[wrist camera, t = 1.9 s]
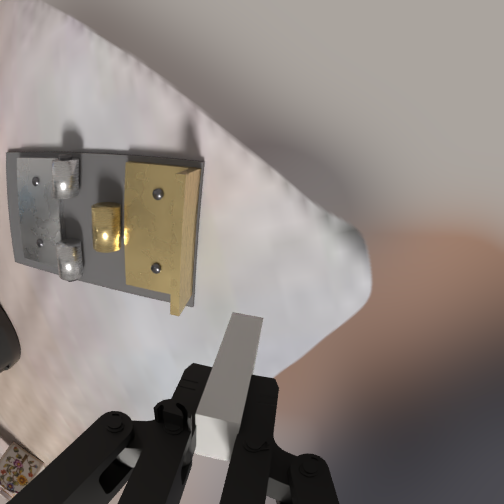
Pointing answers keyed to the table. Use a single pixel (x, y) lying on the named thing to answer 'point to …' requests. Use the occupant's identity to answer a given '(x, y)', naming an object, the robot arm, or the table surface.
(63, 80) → the table surface
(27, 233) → the fixed leaf
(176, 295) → the loose leaf
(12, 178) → the grey two-tone fixture
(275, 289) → the table surface
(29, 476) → the decorative jar
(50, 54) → the table surface
